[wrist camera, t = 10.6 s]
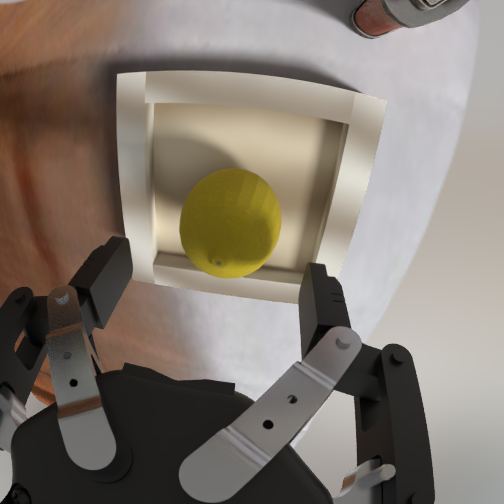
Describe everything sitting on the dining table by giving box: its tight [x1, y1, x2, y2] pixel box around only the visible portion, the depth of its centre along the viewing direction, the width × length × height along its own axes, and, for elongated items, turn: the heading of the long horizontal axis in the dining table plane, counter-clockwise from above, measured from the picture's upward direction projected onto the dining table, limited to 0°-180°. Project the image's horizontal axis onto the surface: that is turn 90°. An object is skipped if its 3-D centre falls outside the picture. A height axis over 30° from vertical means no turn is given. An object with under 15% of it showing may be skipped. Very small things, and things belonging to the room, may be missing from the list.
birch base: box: [116, 71, 387, 304], centre depth 21 cm, size 16×16×6 cm
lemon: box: [179, 168, 282, 279], centre depth 16 cm, size 6×6×8 cm
